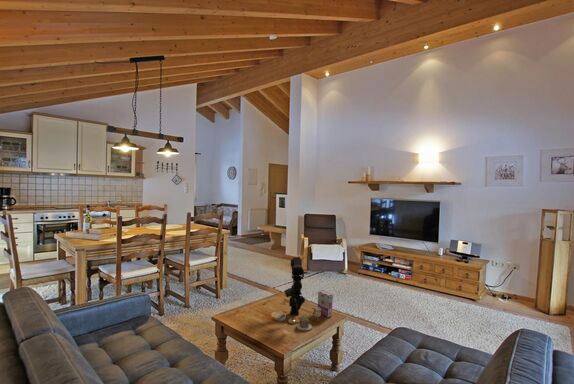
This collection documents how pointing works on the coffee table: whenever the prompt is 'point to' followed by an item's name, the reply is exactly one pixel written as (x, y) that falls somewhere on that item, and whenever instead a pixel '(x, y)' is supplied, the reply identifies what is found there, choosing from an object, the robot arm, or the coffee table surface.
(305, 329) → the sage dish
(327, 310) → the candy bar box
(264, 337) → the coffee table surface
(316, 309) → the oak block
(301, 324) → the walnut block
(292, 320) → the balance
